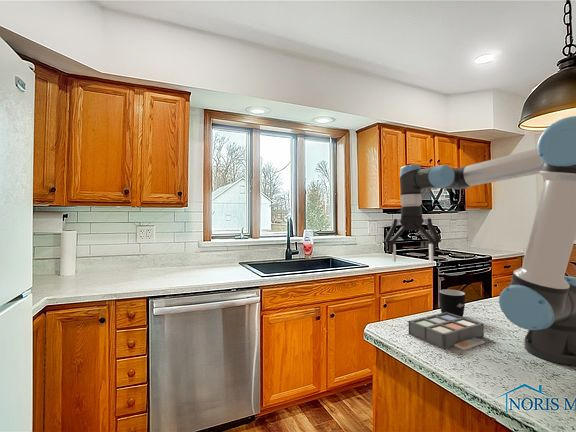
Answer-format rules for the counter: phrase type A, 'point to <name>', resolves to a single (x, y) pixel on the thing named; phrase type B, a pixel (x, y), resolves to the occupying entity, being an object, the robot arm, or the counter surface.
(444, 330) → the key
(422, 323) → the key
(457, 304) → the mug
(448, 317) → the key
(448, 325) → the orange square block
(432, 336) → the gray compartment tray
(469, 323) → the key
